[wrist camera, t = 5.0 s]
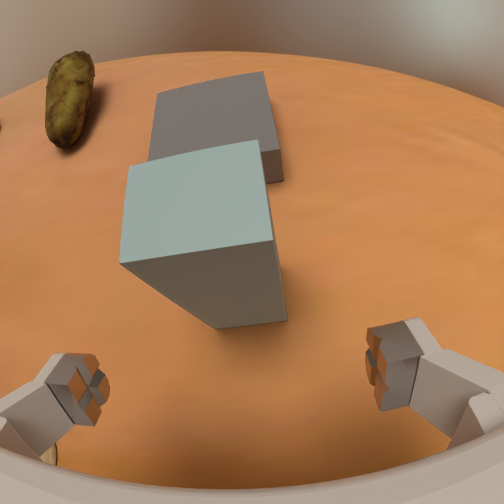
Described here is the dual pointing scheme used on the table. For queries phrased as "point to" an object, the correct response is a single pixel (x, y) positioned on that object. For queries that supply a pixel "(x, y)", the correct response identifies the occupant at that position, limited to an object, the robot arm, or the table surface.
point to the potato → (68, 97)
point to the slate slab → (217, 119)
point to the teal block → (206, 235)
